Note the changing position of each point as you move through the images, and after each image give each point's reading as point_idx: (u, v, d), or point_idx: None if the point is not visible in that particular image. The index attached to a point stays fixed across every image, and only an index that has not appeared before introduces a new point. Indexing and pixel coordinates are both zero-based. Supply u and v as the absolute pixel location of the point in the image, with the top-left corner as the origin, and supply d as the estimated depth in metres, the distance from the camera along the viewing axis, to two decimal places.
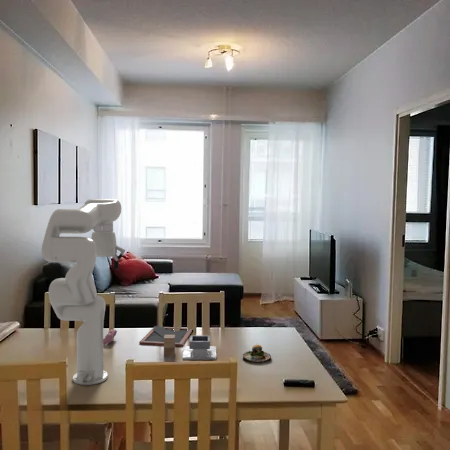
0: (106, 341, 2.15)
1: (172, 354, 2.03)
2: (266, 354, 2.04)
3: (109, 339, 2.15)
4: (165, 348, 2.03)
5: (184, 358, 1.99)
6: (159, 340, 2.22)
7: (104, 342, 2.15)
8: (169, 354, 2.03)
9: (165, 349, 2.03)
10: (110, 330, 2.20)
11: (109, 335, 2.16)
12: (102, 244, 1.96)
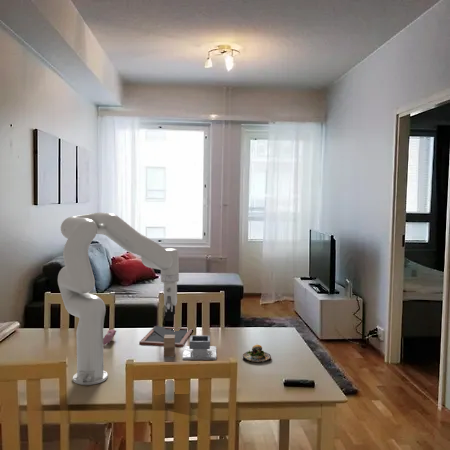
0: (105, 341, 2.15)
1: (172, 354, 2.03)
2: (266, 354, 2.04)
3: (108, 339, 2.15)
4: (165, 348, 2.03)
5: (184, 358, 1.99)
6: (159, 340, 2.22)
7: (103, 342, 2.15)
8: (169, 354, 2.03)
9: (165, 349, 2.03)
10: (109, 330, 2.20)
11: (108, 335, 2.16)
12: (176, 292, 2.03)
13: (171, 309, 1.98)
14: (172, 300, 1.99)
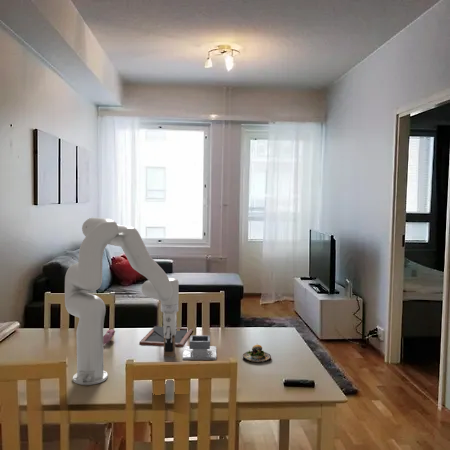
0: (104, 341, 2.15)
1: (172, 354, 2.03)
2: (266, 354, 2.04)
3: (107, 339, 2.15)
4: None
5: (184, 358, 1.99)
6: (159, 340, 2.22)
7: None
8: (169, 354, 2.03)
9: None
10: (108, 330, 2.20)
11: (107, 335, 2.16)
12: None
13: (171, 341, 2.01)
14: (172, 333, 2.00)
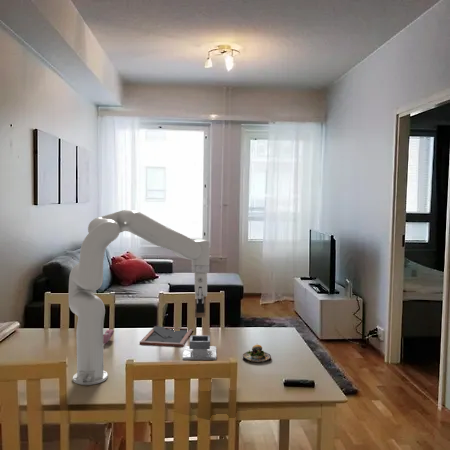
0: (103, 341, 2.15)
1: (204, 315, 2.03)
2: (266, 354, 2.04)
3: (106, 339, 2.15)
4: None
5: (184, 358, 1.99)
6: (159, 340, 2.22)
7: None
8: (200, 315, 2.03)
9: None
10: (107, 330, 2.20)
11: (106, 335, 2.16)
12: None
13: (202, 301, 2.01)
14: None
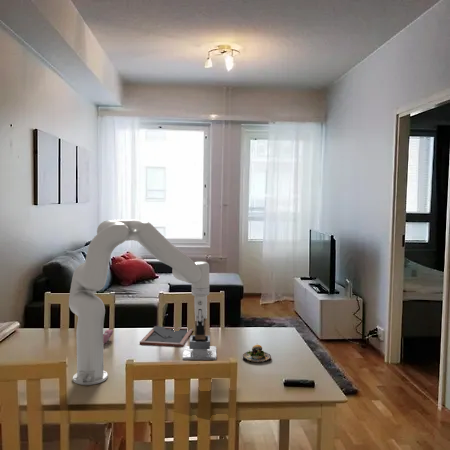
0: None
1: (204, 337, 2.04)
2: (266, 354, 2.04)
3: (105, 339, 2.15)
4: None
5: (184, 358, 1.99)
6: (159, 340, 2.22)
7: None
8: (200, 337, 2.04)
9: None
10: (106, 330, 2.20)
11: (105, 335, 2.16)
12: None
13: (202, 324, 2.02)
14: (203, 316, 2.01)
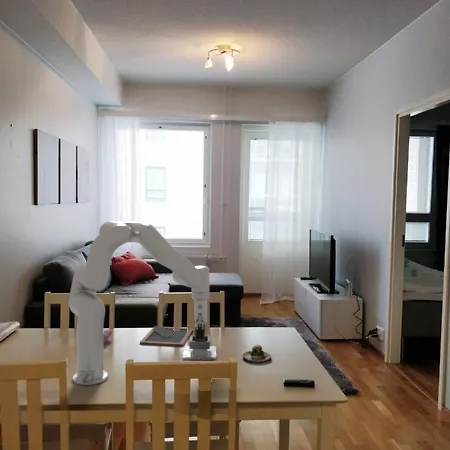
0: None
1: None
2: (266, 354, 2.04)
3: (104, 339, 2.15)
4: None
5: (184, 358, 1.99)
6: (159, 340, 2.22)
7: None
8: None
9: None
10: (105, 330, 2.20)
11: (104, 335, 2.16)
12: None
13: (202, 327, 2.01)
14: (203, 319, 2.00)
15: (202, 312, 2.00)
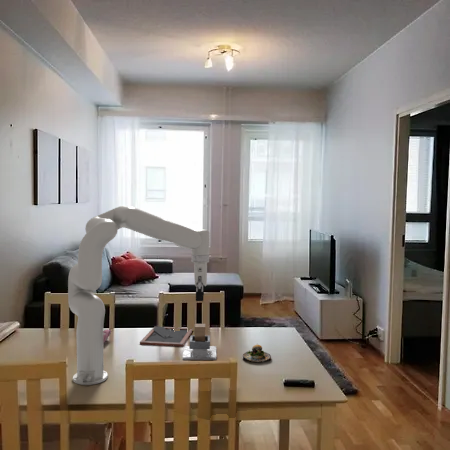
0: None
1: None
2: (266, 354, 2.04)
3: (103, 339, 2.15)
4: (196, 337, 2.04)
5: (184, 358, 1.99)
6: (160, 340, 2.22)
7: None
8: None
9: (196, 338, 2.04)
10: (104, 330, 2.20)
11: (103, 335, 2.16)
12: None
13: (202, 289, 1.98)
14: (203, 280, 1.99)
15: (202, 275, 1.99)
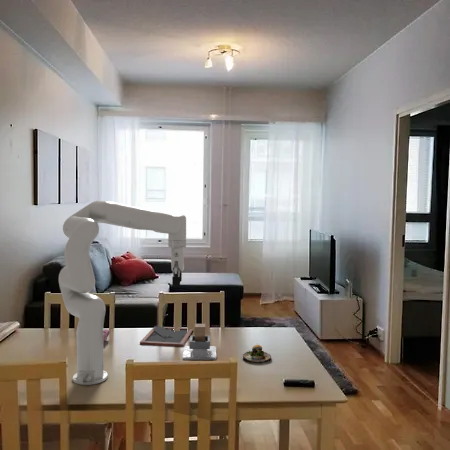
0: None
1: None
2: (266, 354, 2.04)
3: None
4: (196, 337, 2.04)
5: (184, 358, 1.99)
6: (160, 340, 2.22)
7: None
8: None
9: (196, 338, 2.04)
10: (103, 330, 2.20)
11: None
12: None
13: (178, 274, 1.99)
14: (179, 265, 1.99)
15: (178, 260, 1.99)
